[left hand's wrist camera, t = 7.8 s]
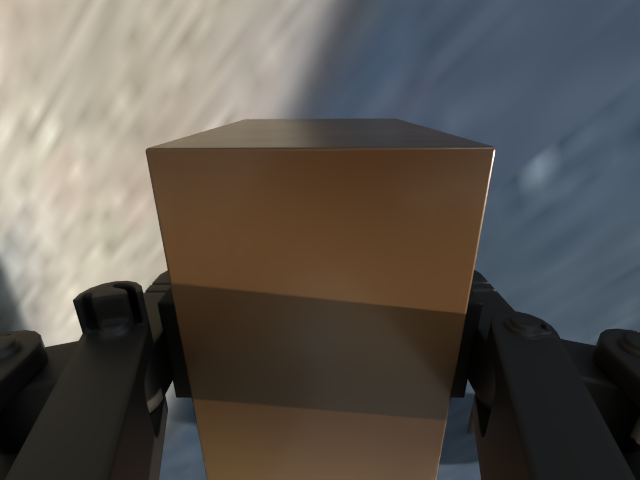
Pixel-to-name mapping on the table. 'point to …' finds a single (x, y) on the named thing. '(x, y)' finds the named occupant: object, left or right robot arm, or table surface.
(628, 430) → the left robot arm
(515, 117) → the table surface
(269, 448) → the post
